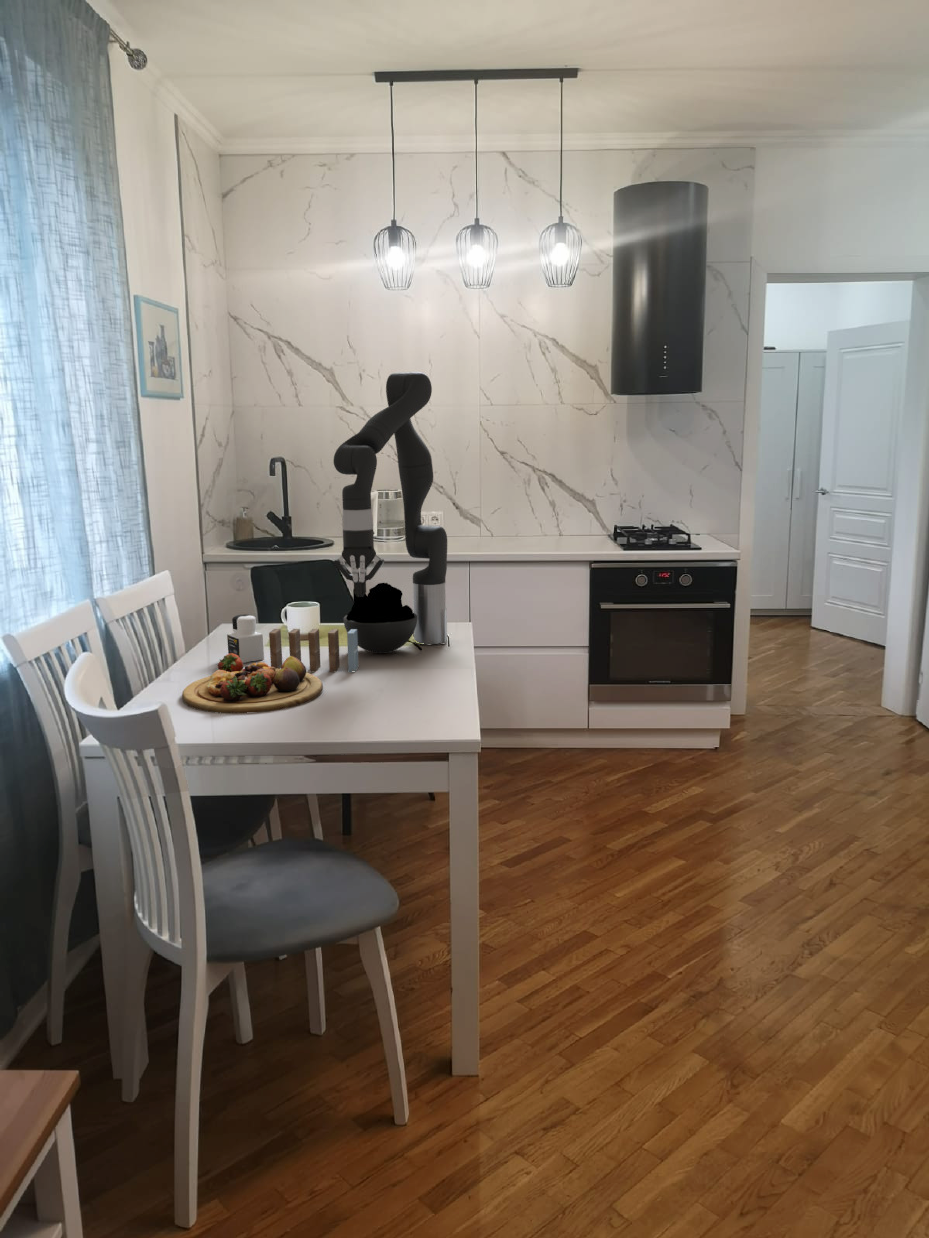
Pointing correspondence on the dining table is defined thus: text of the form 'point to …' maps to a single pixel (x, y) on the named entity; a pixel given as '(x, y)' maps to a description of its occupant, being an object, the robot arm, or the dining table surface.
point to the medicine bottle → (245, 639)
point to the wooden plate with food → (253, 687)
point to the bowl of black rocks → (381, 619)
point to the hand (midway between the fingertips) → (360, 596)
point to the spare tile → (352, 650)
